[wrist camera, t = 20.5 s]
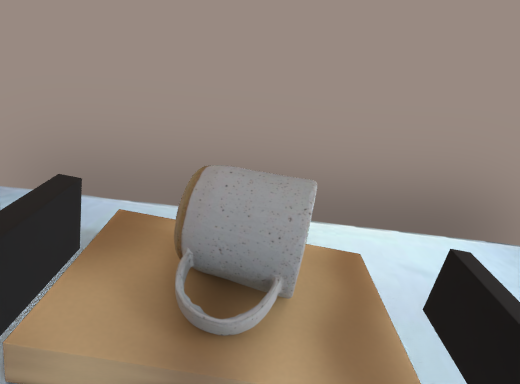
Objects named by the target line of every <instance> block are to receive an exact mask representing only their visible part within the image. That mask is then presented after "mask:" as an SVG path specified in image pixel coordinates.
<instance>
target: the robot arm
mask: <svg viewBox="0 0 520 384" xmlns="http://www.w3.org/2000/svg"><path fill="white" fill-rule="evenodd" d="M81 184H82V179H81V178H77V177H72V176H67V175H62V174H58V175H56V176H55V177H53V178H51V179H50V180H48V181H47V182H45V183H43V184H42V185H40V186H39V187H37V188H35V189H34V190H32V191H31V192H29V193H27V194H26V195H24V196H23V197H21V198H19V199H18V200H16V201H15V202H13V203H11V204H10V205H8V206H7V207H5V208H3V209H2V210H0V335H1V334H2V333H3V332H4V331H5V330H6V329H7V328H8V327H9V326H10V324H11V323H12V322H13V321H14V320H15V319H16V318H17V317H18V316H19V315H20V313H21V312H22V311H23V310H24V309H25V308H26V307H27V306H28V305H29V304H30V302H31V301H32V300H33V299H34V298H35V297H36V296H37V295H38V294H39V293H40V291H41V290H42V289H43V288H44V287H45V286H46V285H47V284H48V283H49V282H50V280H51V279H52V278H53V277H54V276H55V275H56V274H57V273H58V272H59V271H60V269H61V268H62V267H63V266H64V265H65V264H66V263H67V262H68V261H69V260H70V258H71V257H72V256H73V255H74V254H75V253H76V252H77V251H78V250H79V249H80V221H81V187H82V185H81ZM423 311H424V313H425V314H426V316H427V318H428V319H429V321H430V323H431V324H432V326H433V328H434V329H435V331H436V333H437V334H438V336H439V338H440V339H441V341H442V343H443V344H444V346H445V348H446V349H447V351H448V353H449V354H450V356H451V358H452V359H453V361H454V363H455V364H456V366H457V368H458V369H459V371H460V373H461V374H462V376H463V378H464V379H465V381H466V383H467V384H520V302H519V301H518V300H517V299H516V298H515V297H514V296H513V295H512V294H511V293H510V292H509V291H508V290H507V289H506V288H505V287H504V286H503V285H502V284H501V283H500V282H499V281H498V280H497V279H496V278H495V277H494V276H493V275H492V274H491V273H490V272H489V271H488V270H487V269H486V268H485V267H484V266H483V265H482V264H481V263H480V262H479V261H478V260H477V259H476V258H475V257H474V256H473V255H472V254H471V253H470V252H465V251H460V250H454V249H450V251H449V253H448V255H447V257H446V259H445V262H444V264H443V266H442V268H441V270H440V273H439V275H438V277H437V279H436V282H435V284H434V286H433V288H432V290H431V293H430V295H429V297H428V299H427V301H426V304H425V306H424V308H423Z"/></svg>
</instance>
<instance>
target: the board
mask: <svg viewBox="0 0 520 384" xmlns="http://www.w3.org/2000/svg"><path fill="white" fill-rule="evenodd" d="M175 223H176V220H174V219H169V218H164V217H158V216H153V215H148V214H142V213H137V212H132V211H126V210H121V209H119V210H118V211H117V212H116V214H115V215H114V216H113V217H112V218H111V219H110V220H109V222H108V223H107V224H106V225H105V226H104V227H103V228H102V230H101V231H100V232H99V233H98V234H97V235H96V237H95V238H94V239H93V240H92V241H91V242H90V243H89V245H88V246H87V247H86V248H85V249H84V250H83V251H82V253H81V254H80V255H79V256H78V257H77V258H76V259H75V261H74V262H73V263H72V264H71V265H70V266H69V267H68V269H67V270H66V271H65V272H64V273H63V274H62V275H61V277H60V278H59V279H58V280H57V281H56V282H55V283H54V285H53V286H52V287H51V288H50V289H49V290H48V291H47V293H46V294H45V295H44V296H43V297H42V298H41V300H40V301H39V302H38V303H37V304H36V305H35V306H34V308H33V309H32V310H31V311H30V312H29V313H28V314H27V316H26V317H25V318H24V319H23V320H22V321H21V322H20V324H19V325H18V326H17V327H16V328H15V329H14V330H13V332H12V333H11V334H10V335H9V336H8V337H7V338H6V340H5V341H4V342H3V354H4V370H5V381H6V382H11V383H18V384H421V383H420V381H419V379H418V377H417V374H416V372H415V370H414V368H413V366H412V364H411V362H410V360H409V357H408V355H407V353H406V351H405V349H404V347H403V345H402V342H401V340H400V338H399V336H398V334H397V332H396V330H395V327H394V325H393V323H392V321H391V319H390V317H389V315H388V313H387V310H386V308H385V306H384V304H383V302H382V300H381V298H380V295H379V293H378V291H377V289H376V287H375V285H374V283H373V281H372V278H371V276H370V274H369V272H368V270H367V268H366V266H365V263H364V261H363V259H362V257H361V255H360V254H357V253H352V252H346V251H341V250H336V249H330V248H325V247H319V246H314V245H309V244H305V249H304V253H303V257H302V261H301V266H300V270H299V274H298V278H297V281H296V285H295V289H294V292H293V296H292V297H291V298H290V299H287V298H283V297H280V296H277V298H276V300H275V302H274V304H273V305H272V307H271V309H270V310H269V312H268V313H267V314H266V316H265V317H264V318H263V319H262V320H261V321H260V322H259V323H258V324H257V325H255V326H254V327H253V328H251V329H249V330H247V331H244V332H242V333H239V334H236V335H226V336H222V335H216V334H213V333H209V332H206V331H204V330H201V329H199V328H197V327H196V326H194V325H193V324H191V323H190V322H189V321H188V320H187V319H186V317H185V316H184V315H183V313H182V312H181V310H180V308H179V306H178V302H177V299H176V294H175V278H176V271H177V268H178V264H179V262H180V259H179V257H178V255H177V253H176V250H175V243H174V230H175ZM184 292H185V294H186V295H187V296H188V297H189V298H190V300H191V302H192V303H193V304H195V305H197V306H200V307H201V309H202V310H203V311H204V313H206V314H207V315H209V316H210V317H214V318H218V319H227V318H231V317H236V316H237V315H239V314H242V313H245V312H247V311H248V310H250V309H252V308H254V307H255V306H256V305H258V304H259V303H260V301H261V300H262V299H263V298H264V297H265V295H266V294H267V292H264V291H260V290H257V289H254V288H251V287H248V286H245V285H242V284H239V283H236V282H233V281H231V280H228V279H224V278H221V277H217V276H214V275H210V274H206V273H203V272H201V271H198V270H196V269H194V268H192V267H191V268H190V270H189V272H188V274H187V277H186V280H185V284H184Z"/></svg>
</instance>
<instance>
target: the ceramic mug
mask: <svg viewBox="0 0 520 384" xmlns="http://www.w3.org/2000/svg"><path fill="white" fill-rule="evenodd" d="M316 190H317V183H316V182H315V181H313V180H308V179H302V178H295V177H289V176H283V175H277V174H271V173H265V172H260V171H253V170H249V169H244V168H238V167H233V166H223V165H217V166H205V167H202V168H201V169H199V170H198V171H197V172H196V173H195V174H194V175H193V176H192V178H191V180H190V181H189V183H188V184H187V186H186V188H185V191H184V193H183V196H182V198H181V201H180V204H179V207H178V212H177V216H176V223H175V230H174V243H175V250H176V253H177V255H178V257H179V259H180V262H179V264H178V268H177V271H176V278H175V294H176V299H177V302H178V306H179V308H180V310H181V312H182V313H183V315H184V316H185V317H186V319H187V320H188V321H189V322H190V323H191V324H193V325H194V326H196V327H197V328H199V329H201V330H204V331H206V332H209V333H213V334H216V335H222V336H226V335H236V334H239V333H242V332H244V331H247V330H249V329H251V328H253V327H254V326H255V325H257V324H258V323H259V322H260V321H261V320H262V319H263V318H264V317H265V316H266V314H267V313H268V312H269V310H270V309H271V307H272V305H273V304H274V302H275V300H276V298H277V296H280V297H283V298H287V299H290V298H291V297H292V296H293V292H294V289H295V285H296V281H297V278H298V274H299V270H300V266H301V261H302V257H303V253H304V249H305V243H306V239H307V236H308V230H309V226H310V221H311V216H312V211H313V207H314V201H315V197H316ZM191 267H192V268H194V269H196V270H198V271H201V272H203V273H206V274H210V275H214V276H217V277H221V278H224V279H228V280H231V281H233V282H236V283H239V284H242V285H245V286H248V287H251V288H254V289H257V290H260V291H264V292H267V294H266V295H265V297H264V298H263V299H262V300H261V301H260V303H259V304H258V305H256V306H255V307H254V308H252V309H250V310H248V311H247V312H245V313H242V314H239V315H237V316H236V317H231V318H227V319H218V318H214V317H210V316H209V315H207V314H206V313H204V311H203V310H202V309H201V307H200V306H197V305H195V304H193V303H192V302H191V300H190V298H189V297H188V296H187V295H186V294H185V292H184V284H185V280H186V277H187V274H188V272H189V270H190V268H191Z"/></svg>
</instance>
